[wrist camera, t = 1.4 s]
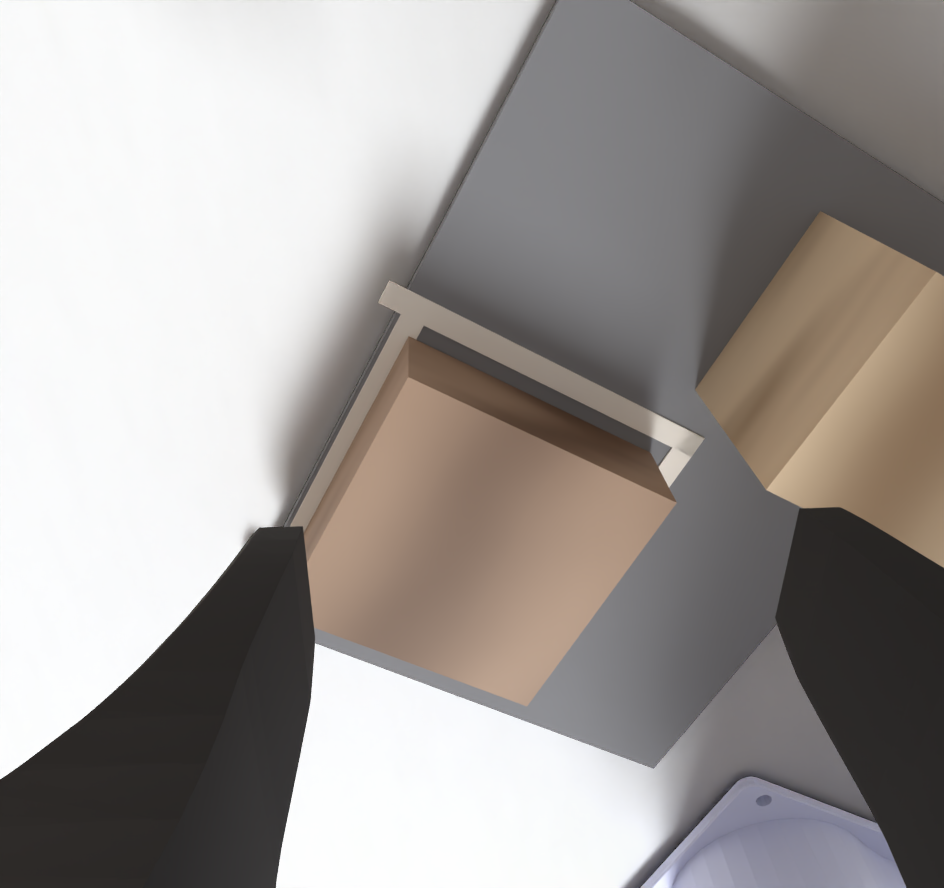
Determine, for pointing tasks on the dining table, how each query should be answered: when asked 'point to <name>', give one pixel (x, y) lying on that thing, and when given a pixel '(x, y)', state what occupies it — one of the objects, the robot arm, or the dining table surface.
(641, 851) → the dining table surface
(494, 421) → the walnut slab
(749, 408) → the oak cube
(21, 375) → the dining table surface
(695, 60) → the mat
